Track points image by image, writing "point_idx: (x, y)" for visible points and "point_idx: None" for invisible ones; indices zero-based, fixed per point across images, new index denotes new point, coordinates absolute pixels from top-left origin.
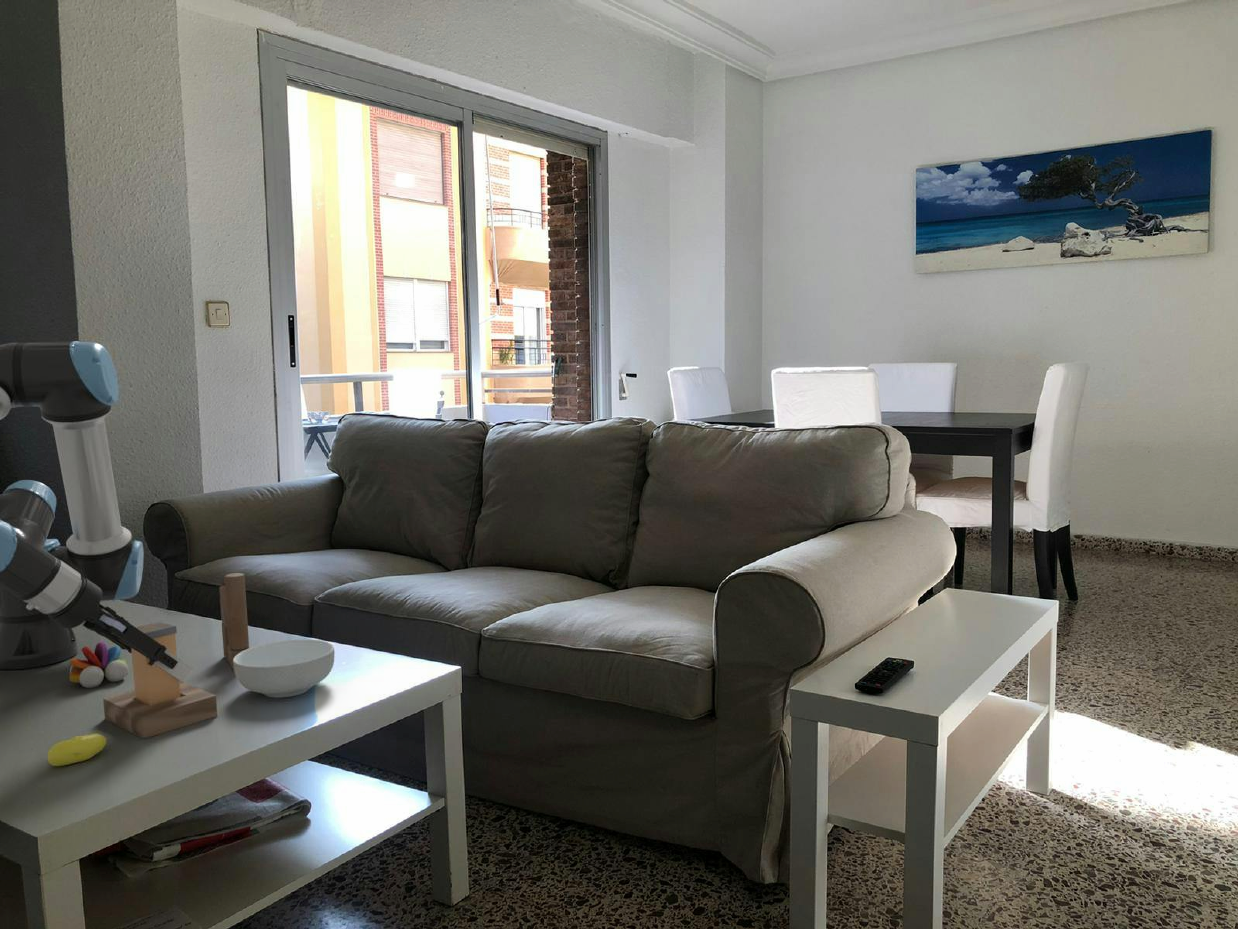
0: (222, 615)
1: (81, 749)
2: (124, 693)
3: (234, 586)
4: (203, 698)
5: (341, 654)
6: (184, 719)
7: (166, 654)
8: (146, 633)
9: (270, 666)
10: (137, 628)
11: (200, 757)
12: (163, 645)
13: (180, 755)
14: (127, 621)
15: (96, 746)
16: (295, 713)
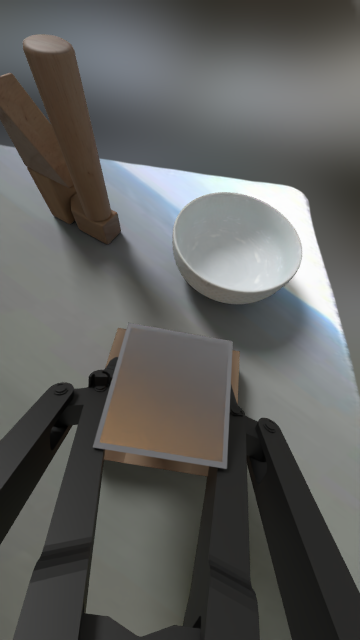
0: (30, 157)
1: None
2: None
3: (72, 89)
4: (236, 368)
5: (179, 184)
6: None
7: (236, 404)
8: (226, 452)
9: (283, 282)
10: (130, 422)
11: (342, 467)
12: (274, 428)
13: (318, 479)
14: (256, 615)
15: None
16: (293, 314)
